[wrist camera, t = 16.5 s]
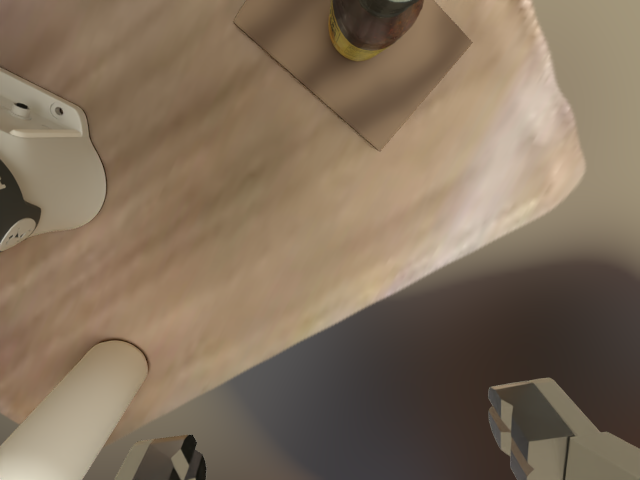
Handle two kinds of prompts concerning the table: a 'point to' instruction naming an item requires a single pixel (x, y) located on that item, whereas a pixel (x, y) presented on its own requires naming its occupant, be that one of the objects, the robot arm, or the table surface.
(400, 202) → the table surface
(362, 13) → the sauce bottle
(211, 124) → the table surface
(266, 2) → the walnut board
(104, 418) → the alcohol
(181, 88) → the table surface
